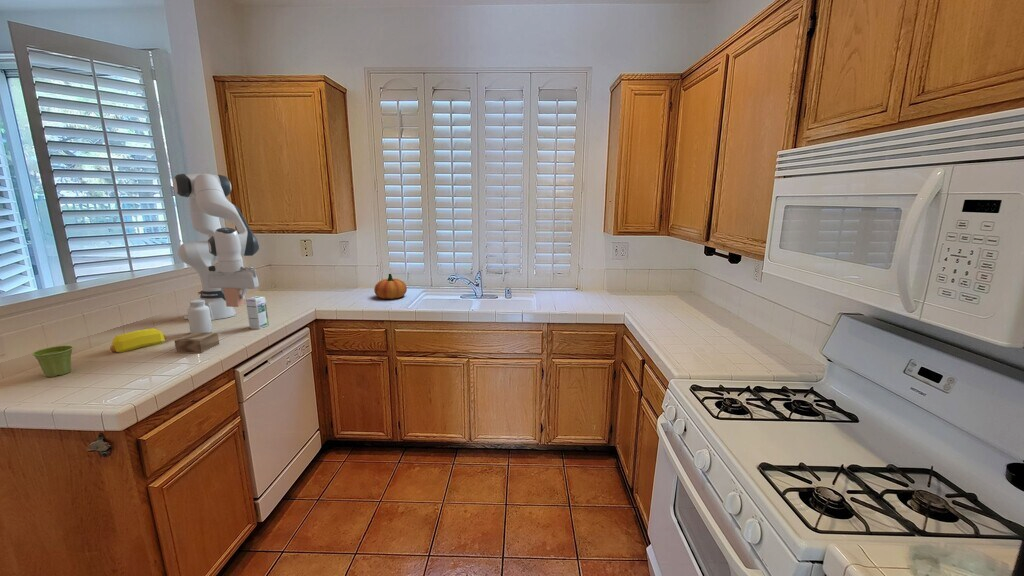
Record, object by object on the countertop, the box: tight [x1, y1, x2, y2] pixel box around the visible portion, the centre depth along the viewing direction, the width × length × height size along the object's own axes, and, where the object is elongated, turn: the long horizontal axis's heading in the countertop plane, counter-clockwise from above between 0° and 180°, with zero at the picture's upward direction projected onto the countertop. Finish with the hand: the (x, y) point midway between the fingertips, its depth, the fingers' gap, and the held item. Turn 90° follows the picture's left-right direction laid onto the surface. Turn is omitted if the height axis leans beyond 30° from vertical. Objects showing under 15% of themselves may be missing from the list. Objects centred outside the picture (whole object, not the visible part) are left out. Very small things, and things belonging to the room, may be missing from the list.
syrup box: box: [245, 295, 270, 330], centre depth 194 cm, size 6×6×14 cm
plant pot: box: [31, 345, 74, 378], centre depth 141 cm, size 9×9×9 cm
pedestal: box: [174, 332, 220, 354], centre depth 166 cm, size 10×10×5 cm
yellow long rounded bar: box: [109, 327, 167, 353], centre depth 168 cm, size 18×7×8 cm
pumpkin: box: [373, 273, 408, 300], centre depth 256 cm, size 19×19×15 cm
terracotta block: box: [224, 288, 246, 308], centre depth 177 cm, size 5×5×8 cm
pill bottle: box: [186, 299, 213, 334], centre depth 184 cm, size 8×8×15 cm
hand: (235, 298), depth 177 cm, fingers closed on terracotta block, 5 cm apart
